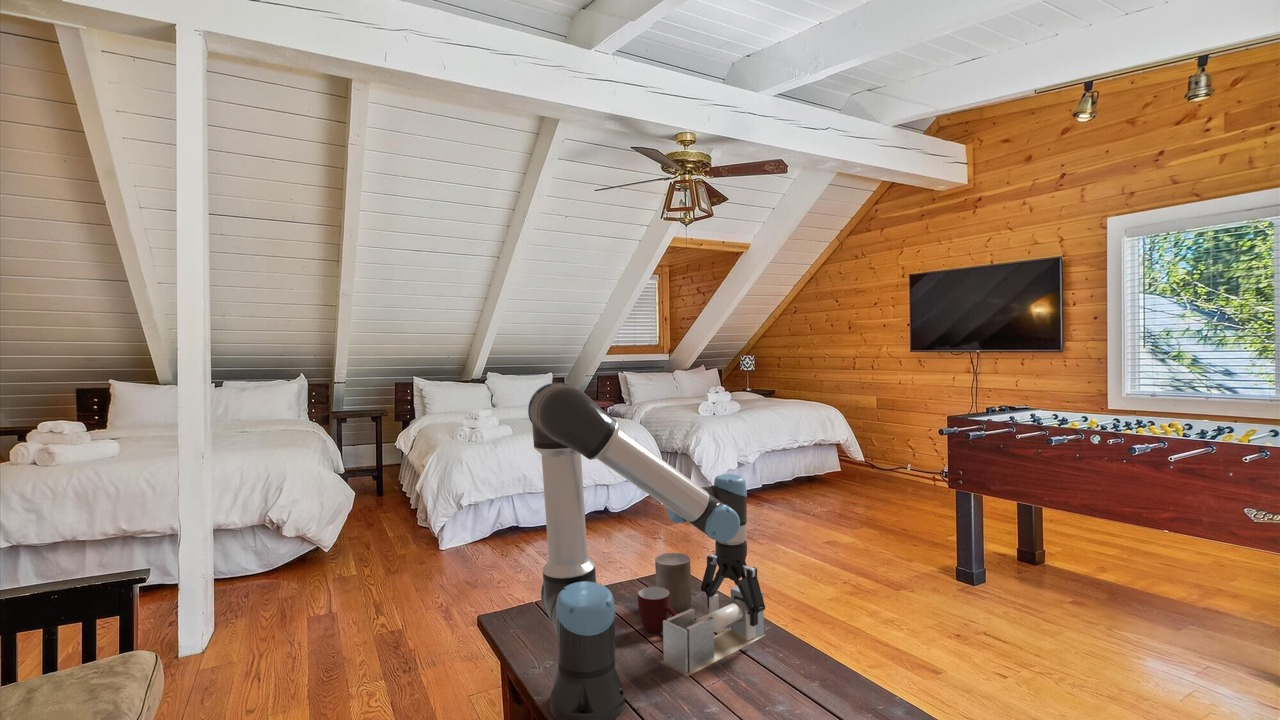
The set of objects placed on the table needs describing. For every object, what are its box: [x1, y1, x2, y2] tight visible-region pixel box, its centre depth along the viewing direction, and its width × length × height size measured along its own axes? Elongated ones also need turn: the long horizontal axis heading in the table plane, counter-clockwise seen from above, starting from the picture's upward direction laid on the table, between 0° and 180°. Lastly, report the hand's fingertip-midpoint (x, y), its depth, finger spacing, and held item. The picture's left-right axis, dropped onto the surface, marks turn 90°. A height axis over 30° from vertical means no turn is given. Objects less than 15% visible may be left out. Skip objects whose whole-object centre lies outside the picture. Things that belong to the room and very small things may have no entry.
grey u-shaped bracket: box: [662, 608, 715, 676], centre depth 148 cm, size 9×7×10 cm
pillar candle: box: [654, 552, 693, 616], centre depth 178 cm, size 10×10×15 cm
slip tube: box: [693, 599, 748, 633], centre depth 156 cm, size 18×5×5 cm, turn 131°
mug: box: [637, 586, 677, 634], centre depth 164 cm, size 11×8×10 cm
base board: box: [660, 627, 766, 677], centre depth 154 cm, size 28×8×1 cm, turn 131°
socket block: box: [730, 585, 765, 640], centre depth 162 cm, size 4×7×10 cm, turn 41°
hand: (732, 629), depth 158 cm, fingers open, 11 cm apart
